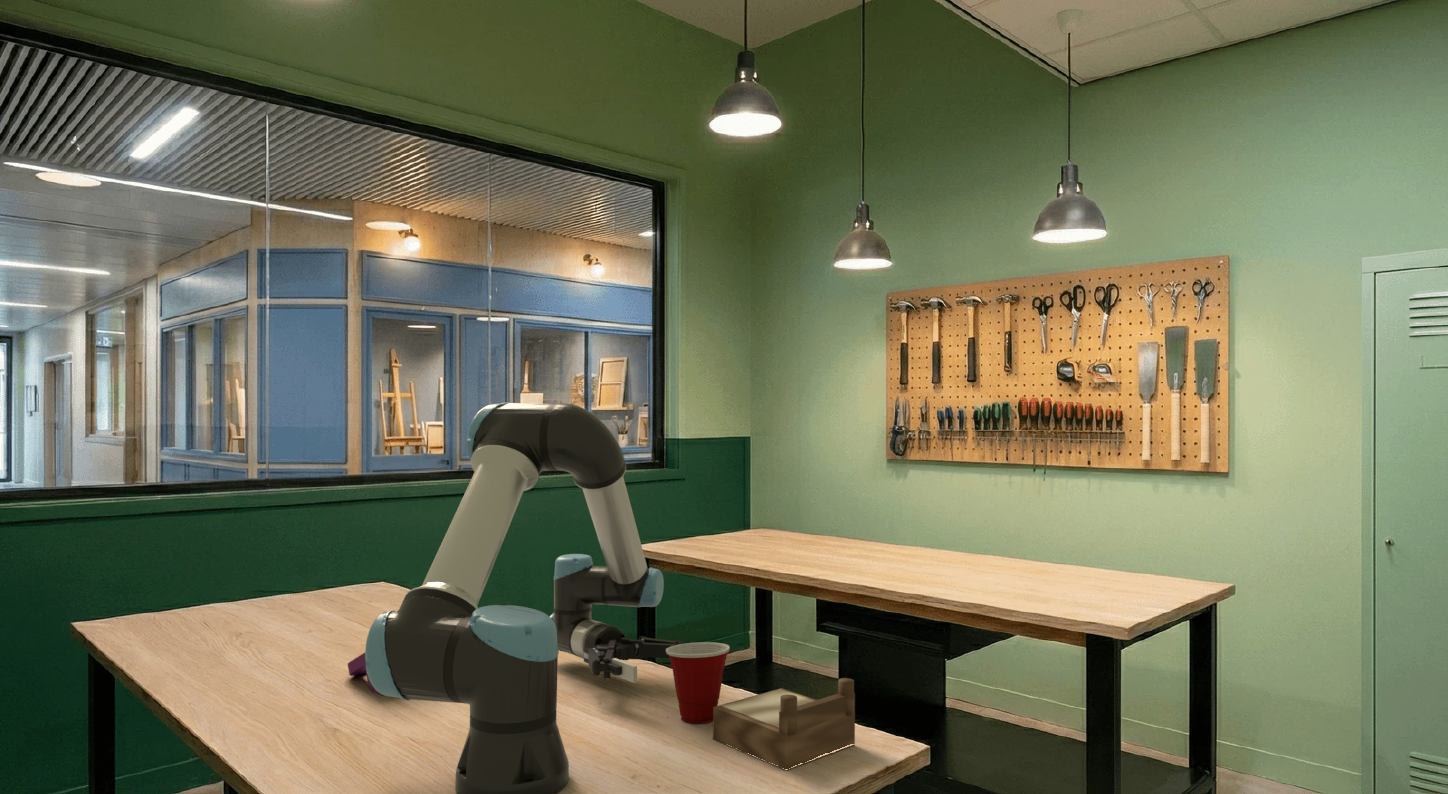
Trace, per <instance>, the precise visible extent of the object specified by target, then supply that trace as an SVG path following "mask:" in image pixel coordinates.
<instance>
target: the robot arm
mask: <svg viewBox="0 0 1448 794" xmlns="http://www.w3.org/2000/svg"><path fill="white" fill-rule="evenodd" d="M467 435H468V436H469V437H468V438H467V439H466V451H467V452H466V453H467V456H468V459H469V461H470V466H471V468H472V471H473V475H472V476H471V479H470V481H469V483H468V485H467V488H466V489H465V492H464V495H463V497H462V498H461V500H460V502H459V505H458V507H457V510H456V511H455V513H454V516H453V517H452V519H451V522H450V524H449V527H448V529H447V531H446V532H445V535H444V537H443V540H442V541H441V544H440V546H439V548H438V550H437V552H436V554H435V557H434V559H433V561H432V563H431V566H430V567H429V570H428V571H427V574H426V575H425V578H424V581H423V582H422V585H421V586H418V587H414V588H411V589H410V590H409V591H408V592H406V594H405V595H404V598H403V600H402V602H401V604H400V606H399V609H398V610H395V609H393V610H387V611H384V612H383V613H381V614H379V615H378V616H376V618H375V619H374V620H373V621H372V623H371V626H370V627H369V631H368V633H367V637H366V642H365V650H364V651H365V652H364V653H365V660H366V670H367V674H368V677H369V680H370V682H371V684H372V686H373V687H374V688H375V689H376V690H377V691H378V692H379V693H380V694H382V695H383V696H385V697H390V698H391V697H393V698H397V699H401V700H403V701H410V700H415V701H417V700H418V701H426V702H427V701H430V702H440V703H444V702H445V703H456V704H467V705H469V730H468V733H467V736H466V738H465V743H464V745H463V747H462V748H463V749H462V752H461V754H460V757H459V759H458V763H457V766H456V769H455V786H454V787H455V788H454V789H455V791H456V793H457V794H556V793H558V792H560V791H561V790H562V789H564V787H566V785H567V784H568V782H569V777H570V776H569V774H570V773H569V772H570V771H569V770H570V769H569V767H570V766H569V758H568V755H567V752H566V749H565V746H564V743H563V740H562V737H561V733H560V731H559V726H558V723H557V708H558V707H557V706H558V705H557V702H558V698H557V697H558V664H559V663H558V658H559V657H558V656H559V652H562V653H563V652H564V653H567V654H570V655H573V656H575V657H578V658H580V659H583V662H584V663H586V664H588V666H589V669H590V672H591V673H592V674H591V675H593V676H599V675H600V673H602V674H603V676H602V677H603V678H604V679H610V678H611V675H613V676H615V677H618V678H620V679H623V680H625V681H628V682H631V683H633V684H634V683H638V665H635V664H633V663H629V662H627V661H629V660H639V661H641V660H642V659H643V658H657V659H670V658H669V656H668V654H667V653H666V649H667V648H669V647H671V646H675V645H679V644H686V643H685V641H680V640H678V639H676V640H667V639H661V638H660V639H659V638H653V637H651V638H650V637H646V636H643V635H641V636H638V639H635V638H634V639H633V638H630V637H626V636H625V634H624V632H623V631H622V630H621V629H619V628H618V627H615V626H613V625H610V624H606V623H604V622H603V621H602V622H601V621H597V620H594V619H592V611H593V610H592V609H593V605H604V606H605V605H607V606H618V607H619V606H620V607H633V608H634V607H635V608H641V607H642V608H643V607H644V608H645V607H647V608H648V607H649V608H654V607H657V606H658V605H659V604H660V602H661V601H662V599H663V595H664V587H665V586H664V585H665V583H664V574H663V572H662V570H660V569H659V568H654V567H649V568H648V565H647V561H646V558H645V554H644V551H643V550H644V549H643V546H642V543H641V539H640V535H639V531H638V527H637V523H636V520H635V516H634V512H633V509H632V505H631V501H630V497H629V493H628V489H627V486H626V482H625V479H624V475H625V474H626V471H627V464H626V460H625V456H624V454H623V450H622V448H621V446H620V444H619V442H618V440H617V438H616V437H615V436H614V434H613V432H612V431H611V430H610V429H609V428H608V427H607V425H606V424H605V423H604V422H603V421H602V420H601V419H600V418H598V417H597V416H596V415H595V414H593V413H592V412H591V411H589V410H587V409H586V408H585V407H582V406H580V405H576V404H572V403H526V402H525V403H523V402H510V401H509V402H507V401H506V402H501V403H494V404H492V403H491V404H489V405H486V406H484V407H483V408H481V409H480V410H478V412H477V413H476V414H475V415H474V417H473V418H472V421H471V423H470V424H469V428H468V432H467ZM544 471H546V472H547V471H548V472H549V471H550V472H553V471H554V472H560V471H562V472H567V473H569V474H571V476H572V477H571V478H572V479H573V482H574V484H575V485H576V486H577V487H579V488H580V489H582V492H583V495H584V499H585V502H586V504H587V505H586V506H587V508H588V511H589V514H590V517H591V518H590V519H591V520H592V523H593V526H594V530H595V533H596V536H597V540H598V542H599V547H600V549H601V552H602V555H603V558H604V562H605V565H606V566H604V565H594V562H593V557H592V556H591V555H588V554H583V553H570V554H563V555H560V556H558V557H556V559H555V562H554V572H553V573H554V574H553V575H554V576H553V613H551V615H548V614H547V613H546V612H543V611H541V610H538V609H535V608H530V607H527V606H522V605H521V606H520V605H512V604H510V605H509V604H505V605H501V604H494V605H493V604H492V605H486V606H480V607H478V604H479V603H480V602H479V601H480V599H481V597H482V594H483V592H484V590H485V588H486V585H487V582H488V580H489V577H490V576H491V575H490V574H491V572H492V570H493V568H494V564H495V562H496V560H497V557H498V555H499V553H500V550H501V548H502V545H503V543H504V540H505V538H506V535H507V533H508V530H509V529H510V525H511V522H512V520H513V518H514V515H515V513H516V510H517V508H518V506H519V503H520V502H521V499H522V496H523V494H524V492H525V491H528V490H531V489H533V488H534V486H536V484H537V482H538V480H539V477H540V476H541V475H540V474H541V473H542V472H544ZM637 649H638V654H637ZM382 695H381V696H382Z"/></svg>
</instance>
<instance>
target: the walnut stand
mask: <svg viewBox="0 0 1448 794" xmlns="http://www.w3.org/2000/svg"><path fill="white" fill-rule="evenodd" d="M837 681H838V684H837V685H838V686H837V687H838V688H837V690H838V692H837V693H835V694H833V695H829V696H827V697H823V698H820V699H816V698H815V699H814V698H811V697H809V696H806V695H803V694H800V693H796V692H794V691H791V690H787V689H785V688H781V687H780V688H778V689H774V690H770V691H767V692H766V691H765V692H764V693H759V694H756V695H752V696H748V697H745V698H741V699H738V700H735V701H730V702H728V703H723V704H720V705H717V706H716V707H713V721H712V722H713V723H712V725H713V729H712V730H713V731H712V734H713V736H712V738H713V740H714V739H715V740H714V741H716V742H719V743H721V744H723V743H724V744H723V745H725V744H728V745H730V746H732V747H734V748H733V749H735V748H737V749H738V750H737V749H736V750H737V751H739V750H741V751H740V752H741V753H744V752H745V753H744V754H746V753H749V754H751V755H754V756H756V757H758V758H760V759H763V760H765V761H767V762H770V763H773V764H775V765H778V766H779V767H782V768H784V769H789V768H791V767H793V766H795V765H798V764H800V763H805V762H807V761H809V760H812V759H814V758H816V757H818V756H820V755H823V754H825V753H830V752H832V751H834V750H837V749H840V748H842V747H845V746H847V745H850V744H855V743H856V742H855V741H856V735H855V734H856V732H855V731H856V692H855V680H854V679H852V678H848V677H842V678H838V680H837ZM728 745H727V746H728ZM855 745H856V744H855ZM730 746H729V747H730ZM732 747H731V748H732ZM749 754H748V755H749ZM751 755H750V756H751ZM756 757H755V758H756ZM758 758H757V759H758ZM760 759H759V760H760ZM763 760H762V761H763ZM765 761H764V762H765ZM767 762H766V763H767ZM770 763H769V764H770ZM779 767H778V768H779ZM784 769H783V770H784ZM789 770H790V769H789Z"/></svg>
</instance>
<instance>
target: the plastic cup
mask: <svg viewBox="0 0 1448 794" xmlns="http://www.w3.org/2000/svg"><path fill="white" fill-rule="evenodd" d="M729 652H730V645H729V644H726V643H723V642H722V643H720V642H713V641H712V642H709V641H708V642H707V641H706V642H705V641H703V642H702V641H701V642H689V643H685V644H679V645H675V646H671V647H669V648H667V649H666V653H667V654H668V656H669V658H668V659H669V661H670V664H671V669H672V674H673V675H672V676H673V680H674V686H675V687H674V688H675V694H676V699H677V702H678V709H679V715H680V718H681V719H680V720H682V721H683V722H685V723H687V724H692V725H694V724H695V725H699V724H700V725H701V724H702V725H703V724H709V723H711V722H713V707H716V706H719V705H718V704H719V700H720V696H721V695H720V694H721V689H722V684H723V683H722V682H723V675H724V670H725V666H726V661H727V656H728V654H729Z"/></svg>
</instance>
